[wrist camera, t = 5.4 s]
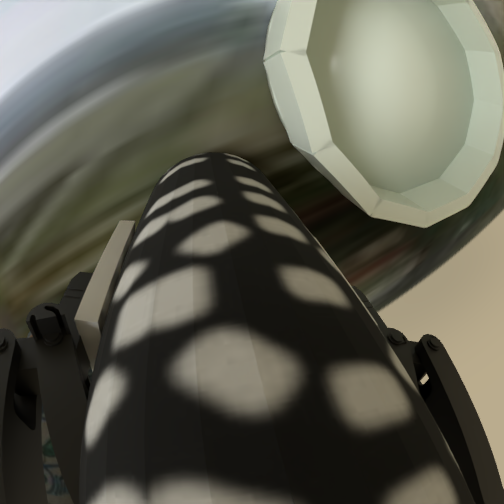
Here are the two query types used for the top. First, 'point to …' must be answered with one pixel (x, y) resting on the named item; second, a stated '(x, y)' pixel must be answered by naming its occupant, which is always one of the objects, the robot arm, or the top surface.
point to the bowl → (390, 100)
